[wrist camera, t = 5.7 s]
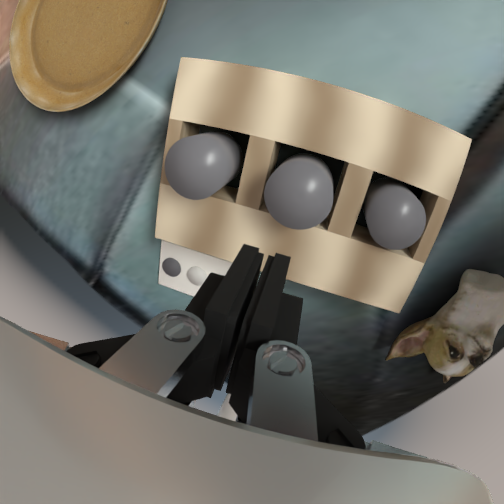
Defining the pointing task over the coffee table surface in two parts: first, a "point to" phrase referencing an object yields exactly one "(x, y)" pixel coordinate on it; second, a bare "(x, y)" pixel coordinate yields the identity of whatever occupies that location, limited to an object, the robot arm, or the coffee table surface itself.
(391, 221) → the button
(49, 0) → the plant saucer
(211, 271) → the pattern card
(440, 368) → the ceramic sculpture
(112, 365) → the robot arm
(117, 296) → the coffee table surface
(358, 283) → the button board
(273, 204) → the middle button
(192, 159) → the button
